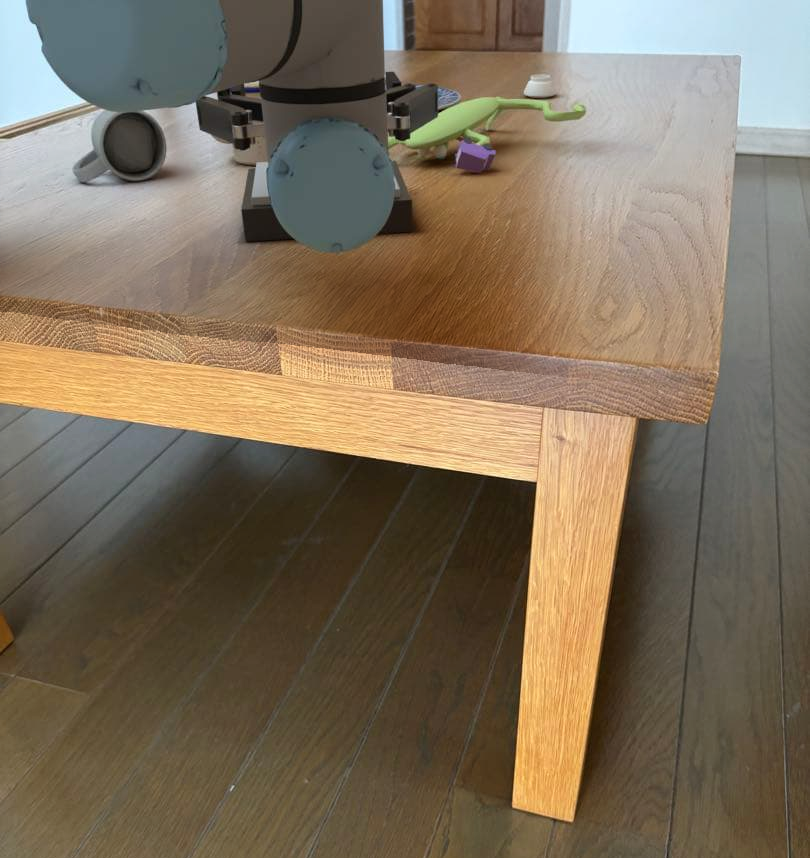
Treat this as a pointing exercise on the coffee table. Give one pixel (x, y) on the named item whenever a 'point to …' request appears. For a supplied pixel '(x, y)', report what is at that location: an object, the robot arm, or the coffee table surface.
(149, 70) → the robot arm
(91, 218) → the coffee table surface
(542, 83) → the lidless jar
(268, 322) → the coffee table surface
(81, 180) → the ceramic mug
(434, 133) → the figurine
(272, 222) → the kitchen scale
